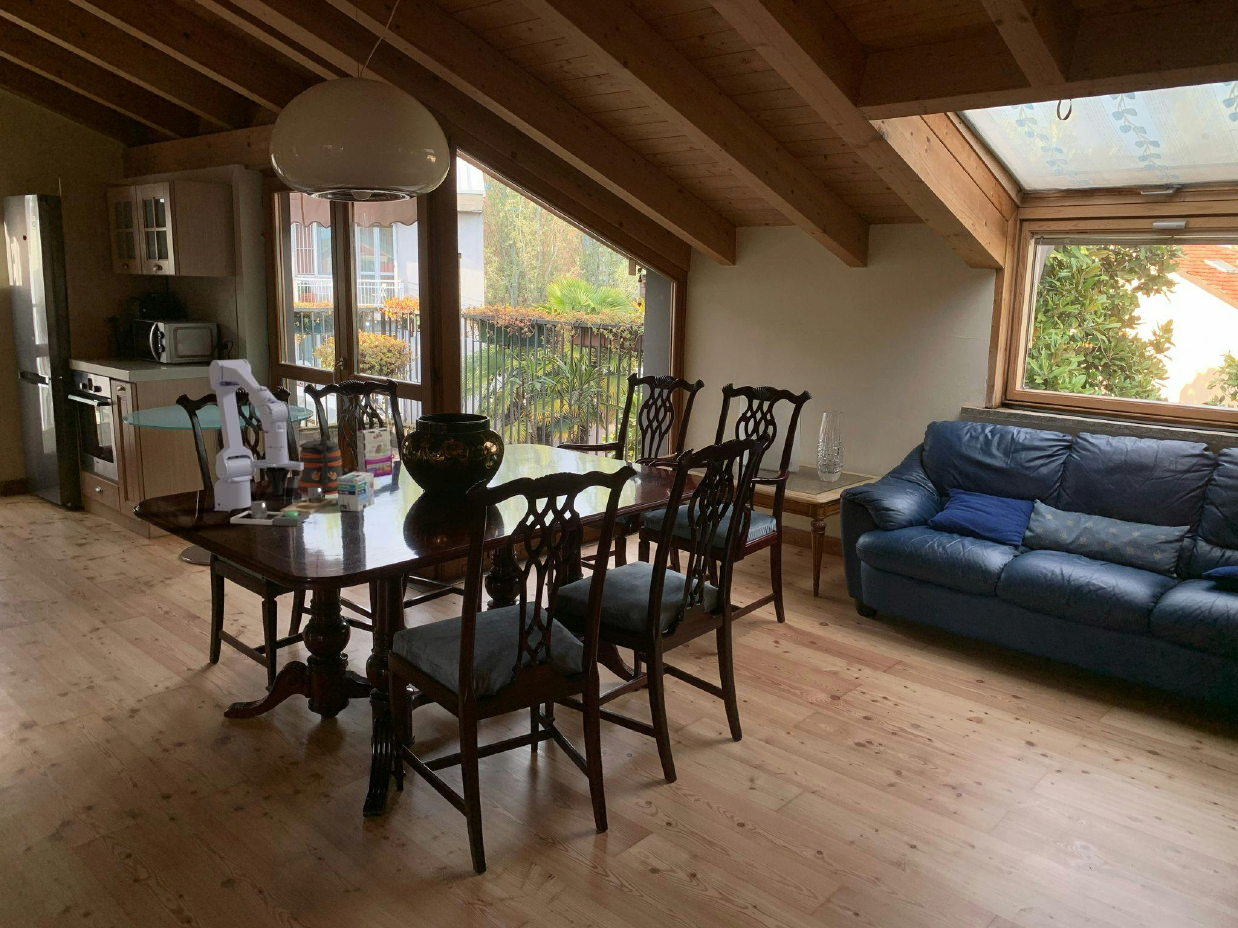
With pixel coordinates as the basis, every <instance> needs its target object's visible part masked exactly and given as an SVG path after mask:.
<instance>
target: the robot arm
mask: <svg viewBox="0 0 1238 928" xmlns="http://www.w3.org/2000/svg"><path fill="white" fill-rule="evenodd" d="M208 376H209V382H210V387H211V390H214V391H215V394H216V396H215V397H216V401H217V402H216V403H217V408H218V414H219V415H218V417H219V420H220V421H219V422H220V429H221V435H222V440H223V441H222V442H223V448H222V449H221V450H220V451H219V452H218V453H217V454H216V455H215V473H216V476H217V477H218V480H217V481H216V482H215V484H214V488H213V492H214V509H213V511H220V512H231V511H233V510H235V509H244V508H249V507H251V502H252V497H251V494H252V493H251V480H253V477H254V475H255V474H256V471H257V469H266V470H264V475H265V476H266V477H267V480H268V481H269V483H270V485H271V487H272V492H273V494H274V496H280V495H282V494H283V491H284V487H285V483H286V480H287V477H288V475H289V474H290V472H291V471H293V470H295V471H296V470H297V471H299V472H300V471H301V470H303V469H304V463H303V462H299V461H292V460H289V459H288V458H289V457H288V456H289V455H288V434H287V429H288V428H287V423H288V422H289V421H290V419H291V409H290V407H289V405H288V402H286V401H281V400H278V399H277V398H276V397H275V396H274V394H272V392H271V391H270V389H268V388H267V386H263V385H260V384H259V383H258V381H257V380H256V379H255V377H254V376H253V374H252V366H251V364H250V363H249V361H248V359H245V358H241V359H224V360H223V359H221V360H220V359H219V360H218V359H214V360H212V361H211V363H210V365H209V367H208ZM239 388H242V389H243V390H245V391H246V392H247V393H248V400H249V402H250V403H251V405H253V407H254V408H255V409H256V410H257V411H258V412H259V413H258V415H259V420H260V422H261V428H262V430H263V432H264V449H265V452H264V453H265V459H259V460H258V459H254V456H253V452H252V451H251V450H250V449H248V448H247V447H245V446H244V443H243V439H242V432H241V426H240V425H241V424H240V417H239V413H238V412H239V410H238V405H237V396H236V392H237V390H238V389H239ZM236 456H238V457H236ZM229 457H230V458H229Z"/></svg>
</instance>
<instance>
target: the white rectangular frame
mask: <svg viewBox="0 0 1238 928" xmlns="http://www.w3.org/2000/svg"><path fill="white" fill-rule="evenodd" d="M248 514H252V513H251V510H246V511H244V512H241V513H240V514H237V515H235V516H232V517H231V518H229V519H230V520H229V521H230V524H242V525H243V524H244V525H262V526H263V525H266V526H274V521H273V518H272V519H269V518H268V519H267V518H266V519H267V520H260V519H252V518H250V517H249V518H248V517H243V516H246V515H248ZM280 514H282V513H281V511H279V512H278V511H277V512H276V511H267V515H276V516H278V515H280Z"/></svg>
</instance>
